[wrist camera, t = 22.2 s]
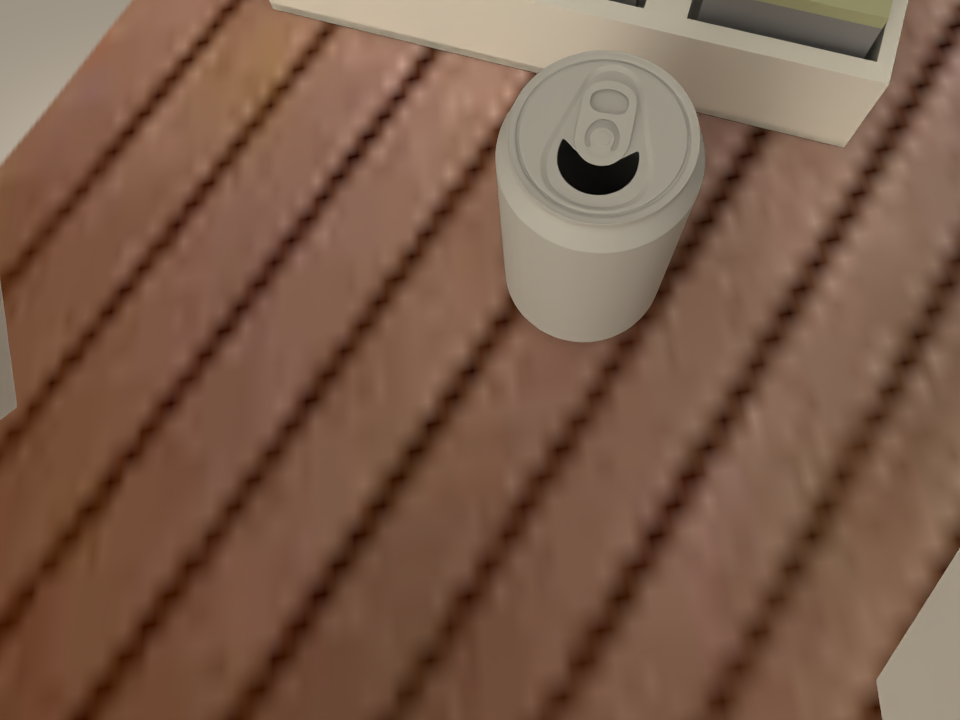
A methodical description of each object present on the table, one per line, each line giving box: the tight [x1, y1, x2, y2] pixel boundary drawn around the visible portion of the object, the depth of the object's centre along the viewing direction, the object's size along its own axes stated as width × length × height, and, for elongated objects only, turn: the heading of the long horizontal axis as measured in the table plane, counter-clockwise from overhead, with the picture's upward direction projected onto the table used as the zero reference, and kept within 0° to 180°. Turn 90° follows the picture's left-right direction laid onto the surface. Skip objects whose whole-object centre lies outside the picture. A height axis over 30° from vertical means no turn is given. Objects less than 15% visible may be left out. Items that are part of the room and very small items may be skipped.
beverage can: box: [495, 50, 705, 342], centre depth 32 cm, size 6×6×12 cm
